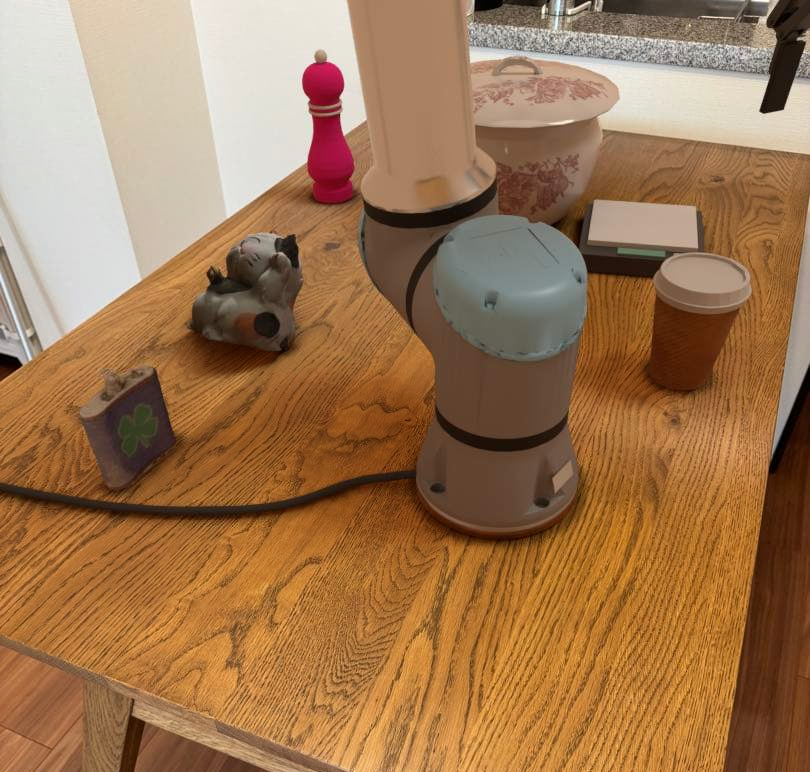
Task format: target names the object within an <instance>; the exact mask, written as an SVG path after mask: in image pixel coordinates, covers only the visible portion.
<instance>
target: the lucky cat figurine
mask: <svg viewBox="0 0 810 772" xmlns="http://www.w3.org/2000/svg"><path fill="white" fill-rule="evenodd" d="M299 250H300V247H299V245H298V244H297V235H296V233H290V234H287V235H286V237H282V236H281V235H279V233H278V231H277V230H276V229H272V230H271V231H269V232H267V231H266V232H258V233H249V234H247V235H246V236H245V238H243V239H242V240H240V241H238V242H236V243H235V244H233V246H232V247H231V248H230V249H229V252H228V253H227V254H226V257H225V266H226V276H224V275H223V274H222V271H221V269H220V268H219V267H218V266H214V265H210V266H209V267H208V270H207V271H206V273H205V275H206V277H207V279H208V282H209V284H208V286H207V287H206V289H205V290H204V291H202V292H200V293H199V294H197V296H196V297H195V300H194V301H193V303H192V307H191V308H192V310H191V321H189V322H188V323H187V324H186V329H188V330H190V331H193V332H195V333H197V334H198V336H199V337H200V338H203V339H207V340H209V341H213V342H219V343H224V344H232V345H239V346H246V347H250V348H252V349H256V350H260V351H265V352H266V351H267V352H281V351H282V350H283V351H287V350H290V349H291V347H292V345H293V344H294V342H295V339H296V317H295V314H294V306H295V304H296V300H297V297H298V295H299V293H300V292H301V290H302V288H303V286H304V281H305V277H304V276H303V274H302V273H303V263H302V262H301V259H300V255H299V254H300V253H299Z"/></svg>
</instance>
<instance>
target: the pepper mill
mask: <svg viewBox="0 0 810 772" xmlns="http://www.w3.org/2000/svg"><path fill="white" fill-rule="evenodd" d="M313 58H314V61H315V62H313V63H311V64H309V65H307V67H306V68H305V69H304V71H303V73H302V78H301V87H302V91H303V94H305V96H306V97H307V98H308V99H309V100H308V101H307V105H308V111H307V112H308V113H309V115H311V118H312V138H311V144H310V146H309V150H308V154H307V161H306V168H307V174H308V176H309V177H310V178H311V179H312V181H314V182H313V184H312V194H313V195H312V196H313V198H314V200H315V201H316V202H320V203H322V204H340V203H344V202H346V201H348V200H350V199H351V198H353V196H354V183H353V182H352V181H351V180H350V179H351V178H352V176H353V174H354V172H355V169H356V167H355V159H354V157H353V154H352V150H351V148H350V147H349V144H348V142H347V140H346V138H345V135H344V132H343V127H342V122H341V121H342V120H341V113H342V112H343V110H344V107H343V105H342V104H343V100H342V99H341V96H342V94H343V93H344V90H345V78H344V74H343V72H342V70H341V69H340V67H339V66H337V65H336V64H335V63H333V62H330V61H328V54H327V52H326V51H325V50H324V49H321V48H319V49H317V50H316V51H315V53H314V57H313Z"/></svg>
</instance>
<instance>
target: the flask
mask: <svg viewBox="0 0 810 772" xmlns="http://www.w3.org/2000/svg"><path fill="white" fill-rule="evenodd" d="M100 374H104V375H103V376H102V375H100ZM100 374H98V375H97V378H98V379H99V378H101V376H102V377H103V379H104V382H103V388H101V390H99V391H98V392H97V393H96V394H94V395H93V396H92V397H91V398H90V399H89V400H88V401H87V402H86V403H84V405H83V406H82V407H80V409H79V411H78V417H79V419H80V423H81V425H82V427H83V428H84V431H85V434H86V437H87V440H88V442H89V445H90V447H91V450H92V453H93V455H94V456H95V460H96V461H97V464H98V468H99V470H100V472H101V475H102V477H103V481H104V484H105V486H106V487H107V488H108V489H109V490H111V491H115V492H117V493H119V492H120V491H121V490H124V489H126V488H129V487H130V486H132V485H134V484H135V480H137V479H138V478H139V477H140V476H142V475H143V474H145V473H146V472H148V471H149V470H151V468H152V466H153V464H154V463H155V462H156V461H160V459H161V457H162V456H164V455H167V454H168V453H169V452H170V451H172V449H174V448H176V446H177V440H178V439H176V436H175V433H174V430H173V427H172V423H171V419H170V414H169V411H168V408H167V405H166V401H165V398H164V393H163V390H162V384H161V382H160V380H159V376H158V370H157V369H156V367H153V366H150V365H144V364H143V365H138V366H136V367H131V369H129V370H128V371H127V372H125V373H124V374H122V375H119V374H118V375H117V373H116V372H115V370H114V369H110V367H106V368H103V369H102V370H101V371H100Z"/></svg>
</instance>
